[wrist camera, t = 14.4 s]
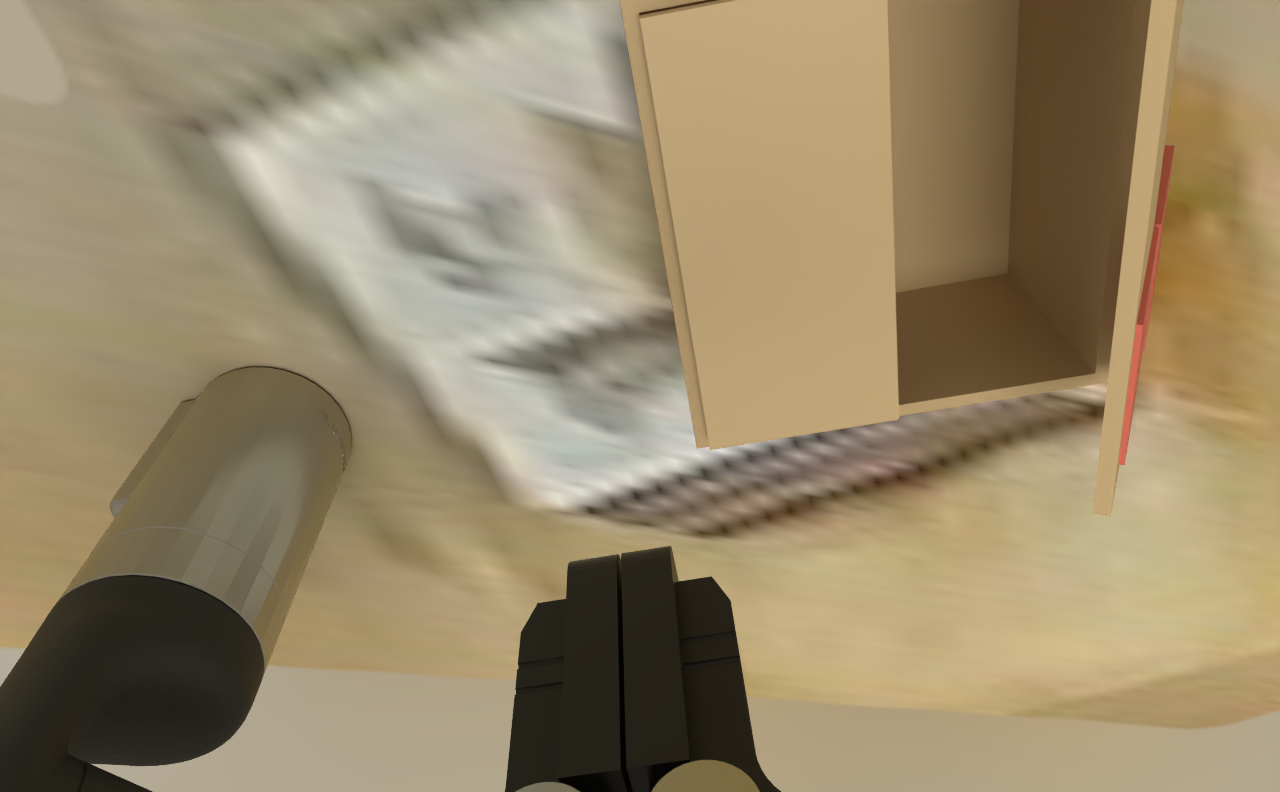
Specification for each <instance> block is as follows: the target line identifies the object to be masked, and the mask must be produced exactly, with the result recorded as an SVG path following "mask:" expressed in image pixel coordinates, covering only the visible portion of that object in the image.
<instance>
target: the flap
mask: <svg viewBox="0 0 1280 792" xmlns="http://www.w3.org/2000/svg"><path fill="white" fill-rule="evenodd" d="M1183 3H1184V0H1151V9H1150V18H1149V27H1148V35H1147V44H1146V53H1145V61H1144V70H1143V79H1142V88H1141V96H1140V105H1139V114H1138V123H1137V131H1136V140H1135V149H1134V158H1133V166H1132V175H1131V184H1130V192H1129V201H1128V210H1127V219H1126V227H1125V236H1124V245H1123V254H1122V262H1121V271H1120V280H1119V288H1118V297H1117V306H1116V315H1115V323H1114V332H1113V341H1112V350H1111V358H1110V367H1109V376H1108V385H1107V393H1106V402H1105V411H1104V419H1103V428H1102V437H1101V446H1100V454H1099V463H1098V472H1097V481H1096V489H1095V498H1094V507H1093V514H1099V515H1105V516H1111V511H1112V505H1113V499H1114V494H1115V488H1116V482H1117V476H1118V470H1119V464H1121V465H1125V458H1126V452H1127V446H1128V440H1129V434H1130V427H1131V421H1132V415H1133V409H1134V403H1135V396H1136V390H1137V384H1138V378H1139V372H1140V366H1141V359H1142V353H1143V352H1144V349H1145V343H1146V336H1147V330H1148V324H1149V318H1150V311H1151V305H1152V299H1153V292H1154V286H1155V280H1156V274H1157V267H1158V261H1159V254H1160V247H1161V239H1162V232H1163V225H1164V217H1165V210H1166V203H1167V196H1168V188H1169V181H1170V174H1171V167H1172V159H1173V152H1174V146H1165V139H1166V131H1167V124H1168V116H1169V109H1170V101H1171V94H1172V86H1173V78H1174V71H1175V63H1176V56H1177V48H1178V41H1179V33H1180V25H1181V18H1182V10H1183Z"/></svg>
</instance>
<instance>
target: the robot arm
mask: <svg viewBox="0 0 1280 792" xmlns="http://www.w3.org/2000/svg"><path fill="white" fill-rule="evenodd" d="M350 451H351V432H350V429H349V425H348V421H347V419H346V418H345V416H344V414H343V412H342V410H341V408H340V407H339V406H338V405H337V404H336V402H335V401H334V400H333V399H332V398H331V397H330V396H329V395H328V394H327V393H326V392H325V391H323V390H322V389H321V388H320V387H318V386H317V385H316V384H314V383H312V382H310V381H308V380H307V379H305V378H303V377H301V376H298V375H295V374H293V373H290V372H287V371H284V370H278V369H273V368H263V367H250V368H244V369H239V370H234V371H231V372H229V373H227V374H224V375H222V376H220V377H218V378H217V379H215V380H214V381H213V382H211V383H210V384H208V386H207V387H206V388H205V389H204V391H203V392H202V393H201V394H200V395H199V396H198V397H197V398H196V399H194V400H191V401H186V402H182V403H180V405H179V406H178V407H177V409H176V410H175V412H174V413H173V414H172V416H171V417H170V419H169V420H168V421H167V423H166V424H165V426H164V427H163V428H162V430H161V431H160V433H159V434H158V435H157V437H156V438H155V440H154V441H153V442H152V444H151V445H150V447H149V448H148V449H147V451H146V452H145V454H144V455H143V456H142V458H141V459H140V461H139V462H138V463H137V465H136V466H135V468H134V469H133V470H132V472H131V473H130V475H129V476H128V478H127V479H126V480H125V482H124V483H123V485H122V486H121V487H120V489H119V490H118V492H117V493H116V494H115V496H114V497H113V499H112V501H111V503H110V510H111V512H112V514H113V516H114V517H115V519H114V520H113V522H112V523H111V525H110V526H109V528H108V529H107V530H106V532H105V533H104V535H103V536H102V538H101V539H100V541H99V542H98V543H97V545H96V546H95V548H94V549H93V551H92V552H91V554H90V555H89V557H88V558H87V560H86V561H85V563H84V564H83V566H82V567H81V569H80V570H79V572H78V573H77V574H76V576H75V577H74V579H73V580H72V582H71V583H70V585H69V586H68V587H67V589H66V590H65V592H64V593H63V595H62V596H61V598H60V599H59V601H58V602H57V603H56V605H55V606H54V607H53V609H52V610H51V612H50V613H49V615H48V616H47V617H46V619H45V621H44V622H43V624H42V625H41V627H40V628H39V630H38V631H37V633H36V634H35V636H34V637H33V639H32V640H31V642H30V643H29V645H28V647H27V648H26V650H25V651H24V653H23V654H22V656H21V657H20V659H19V660H18V662H17V663H16V665H15V666H14V667H13V669H12V671H11V672H10V674H9V675H8V677H7V678H6V679H5V681H4V682H3V684H2V685H1V687H0V792H152V791H150V790H148V789H145V788H143V787H141V786H138V785H136V784H134V783H132V782H129V781H127V780H125V779H123V778H120V777H118V776H116V775H113V774H111V773H109V772H107V771H105V770H102V769H100V768H98V767H96V766H93V765H91V764H110V765H130V766H158V765H167V764H174V763H179V762H184V761H188V760H192V759H194V758H197V757H200V756H202V755H205V754H207V753H209V752H211V751H213V750H215V749H216V748H218V747H219V746H221V745H223V744H224V743H225V742H226V741H228V740H229V739H230V738H231V737H232V736H233V735H234V734H235V732H236V731H237V730H238V729H239V728H240V726H241V725H242V724H243V722H244V721H245V719H246V717H247V715H248V713H249V711H250V709H251V707H252V704H253V702H254V699H255V696H256V694H257V692H258V689H259V686H260V684H261V681H262V678H263V675H264V673H265V670H266V667H267V665H268V662H269V660H270V657H271V655H272V652H273V650H274V647H275V644H276V642H277V639H278V637H279V634H280V632H281V629H282V627H283V624H284V621H285V618H286V616H287V613H288V611H289V608H290V606H291V603H292V601H293V598H294V596H295V593H296V591H297V588H298V586H299V583H300V581H301V578H302V576H303V573H304V570H305V568H306V565H307V563H308V560H309V558H310V555H311V553H312V550H313V548H314V545H315V543H316V540H317V538H318V535H319V533H320V530H321V527H322V525H323V522H324V520H325V517H326V515H327V512H328V510H329V507H330V505H331V502H332V500H333V497H334V495H335V492H336V490H337V487H338V485H339V482H340V479H341V477H342V474H343V472H344V469H345V467H346V464H347V462H348V459H349V455H350ZM518 666H519V669H517V679H516V695H515V699H514V709H513V720H512V729H511V740H510V751H509V760H508V770H507V780H506V789H505V792H781V791H779V789H777V788H776V787H774V785H773V784H772V783H771V782H770V781H769V780H768V779H767V777H766V776H765V774H764V773H763V771H762V770H761V768H760V765H759V763H758V761H757V757H756V753H755V746H754V740H753V735H752V728H751V722H750V717H749V710H748V704H747V697H746V691H745V685H744V679H743V673H742V667H741V661H740V655H739V649H738V643H737V637H736V631H735V625H734V619H733V613H732V607H731V601H730V599H729V598H728V597H727V596H726V594H725V593H724V592H723V590H722V589H721V588H720V587H719V585H718V584H717V583H716V581H715V580H714V579H713V578H712V577H706V578H699V579H692V580H686V581H678V576H677V571H676V566H675V562H674V557H673V552H672V548H671V546H667V547H661V548H654V549H648V550H641V551H635V552H629V553H622V555H621V559H620V556H619V555H618V554H617V555H611V556H604V557H598V558H591V559H585V560H578V561H572V562H569V564H568V571H567V593H566V599H563V600H556V601H549V602H543V603H538V604H537V606H536V607H535V609H534V611H533V613H532V614H531V616H530V618H529V620H528V621H527V623H526V625H525V626H524V628H523V630H522V632H521V638H520V648H519V658H518Z"/></svg>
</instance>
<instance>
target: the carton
mask: <svg viewBox="0 0 1280 792" xmlns="http://www.w3.org/2000/svg"><path fill="white" fill-rule="evenodd" d="M620 5H621V11H622V16H623V22H624V28H625V34H626V40H627V45H628V51H629V57H630V63H631V69H632V74H633V80H634V86H635V92H636V98H637V104H638V109H639V115H640V121H641V127H642V133H643V138H644V144H645V150H646V156H647V162H648V167H649V173H650V179H651V185H652V191H653V197H654V202H655V208H656V214H657V220H658V226H659V231H660V237H661V243H662V249H663V255H664V260H665V266H666V272H667V278H668V284H669V289H670V295H671V301H672V307H673V313H674V319H675V324H676V330H677V336H678V342H679V348H680V353H681V359H682V365H683V371H684V377H685V382H686V388H687V394H688V400H689V406H690V411H691V417H692V423H693V429H694V435H695V441H696V446H697V448H703V447H709V446H710V450H712V449H718V448H725V447H731V446H737V445H743V444H750V443H756V442H762V441H768V440H774V439H781V438H787V437H793V436H799V435H806V434H812V433H818V432H824V431H830V430H837V429H843V428H849V427H855V426H862V425H868V424H874V423H880V422H886V421H893V420H899V416H902V415H908V414H914V413H921V412H927V411H933V410H939V409H945V408H952V407H958V406H964V405H970V404H976V403H983V402H989V401H995V400H1001V399H1008V398H1014V397H1020V396H1026V395H1032V394H1039V393H1045V392H1051V391H1057V390H1063V389H1070V388H1076V387H1082V386H1088V385H1095V384H1101V383H1107V382H1108V374H1109V365H1110V357H1111V348H1112V339H1113V330H1114V322H1115V313H1116V304H1117V296H1118V287H1119V278H1120V269H1121V261H1122V252H1123V243H1124V234H1125V226H1126V217H1127V208H1128V199H1129V191H1130V182H1131V173H1132V164H1133V156H1134V147H1135V138H1136V129H1137V121H1138V112H1139V103H1140V95H1141V86H1142V77H1143V68H1144V60H1145V51H1146V42H1147V33H1148V25H1149V16H1150V7H1151V0H620Z"/></svg>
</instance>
